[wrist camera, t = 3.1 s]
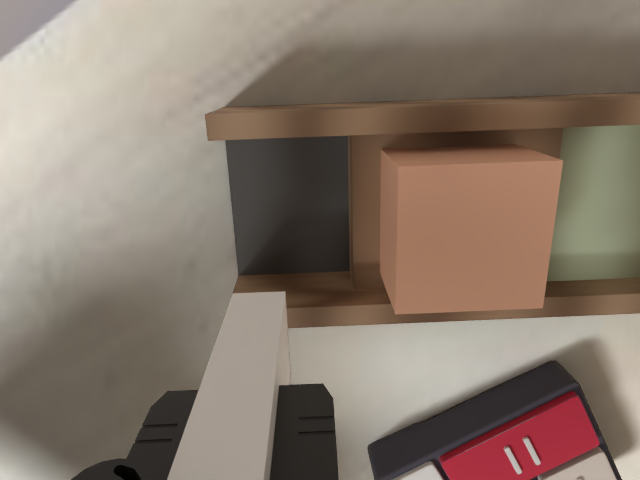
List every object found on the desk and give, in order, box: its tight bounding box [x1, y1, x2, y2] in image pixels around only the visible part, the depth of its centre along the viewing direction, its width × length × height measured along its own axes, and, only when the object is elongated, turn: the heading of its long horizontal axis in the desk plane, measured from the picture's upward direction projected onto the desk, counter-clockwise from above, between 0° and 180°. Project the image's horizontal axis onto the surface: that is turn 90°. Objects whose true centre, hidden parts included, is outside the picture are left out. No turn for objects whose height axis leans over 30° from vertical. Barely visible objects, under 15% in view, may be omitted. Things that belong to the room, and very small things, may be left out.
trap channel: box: [205, 93, 640, 328], centre depth 26 cm, size 36×11×5 cm, turn 92°
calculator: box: [368, 361, 622, 480], centre depth 34 cm, size 11×4×15 cm
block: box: [380, 144, 563, 314], centre depth 23 cm, size 7×7×5 cm
